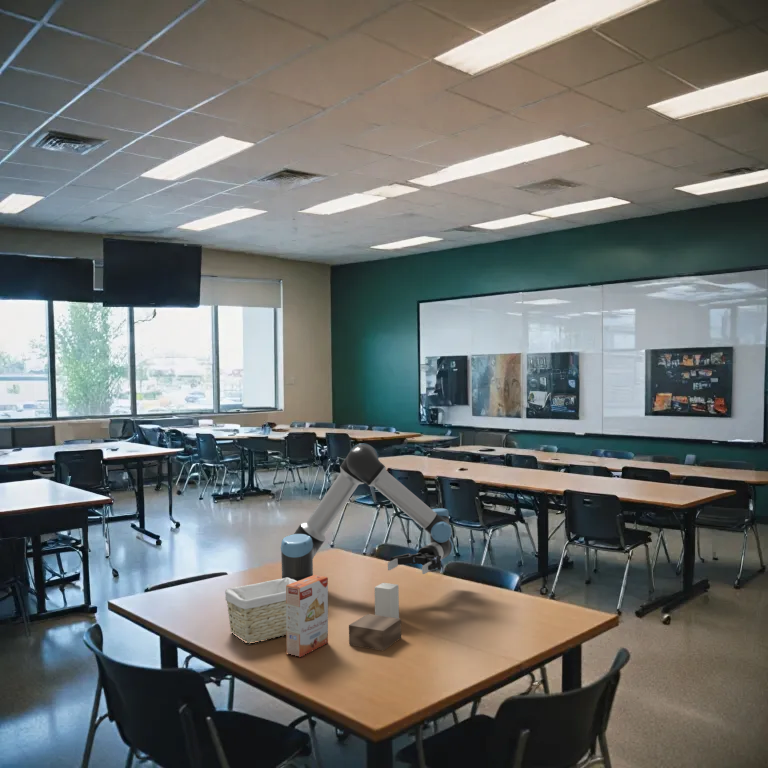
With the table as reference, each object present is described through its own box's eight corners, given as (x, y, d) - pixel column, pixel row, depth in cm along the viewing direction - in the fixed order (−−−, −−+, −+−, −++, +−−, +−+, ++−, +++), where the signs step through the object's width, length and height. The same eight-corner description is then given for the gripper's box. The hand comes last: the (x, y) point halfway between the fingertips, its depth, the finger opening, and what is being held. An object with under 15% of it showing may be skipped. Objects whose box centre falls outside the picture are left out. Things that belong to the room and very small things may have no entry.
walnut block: (349, 644, 219) (348, 625, 219) (368, 632, 229) (367, 613, 229) (383, 650, 213) (383, 630, 213) (401, 637, 224) (400, 618, 224)
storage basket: (244, 648, 218) (243, 600, 218) (223, 633, 231) (223, 588, 231) (312, 631, 231) (311, 586, 231) (289, 618, 245) (289, 576, 245)
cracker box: (301, 658, 208) (300, 587, 208) (285, 654, 211) (284, 584, 211) (329, 643, 220) (328, 576, 220) (314, 640, 223) (313, 573, 223)
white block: (375, 622, 239) (374, 587, 239) (383, 617, 244) (382, 582, 244) (390, 625, 236) (390, 589, 236) (399, 619, 241) (398, 584, 241)
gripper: (461, 567, 263) (438, 582, 245) (401, 561, 275) (375, 575, 256) (460, 547, 263) (437, 560, 245) (400, 542, 275) (374, 554, 256)
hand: (405, 568), depth 250 cm, fingers open, 13 cm apart
